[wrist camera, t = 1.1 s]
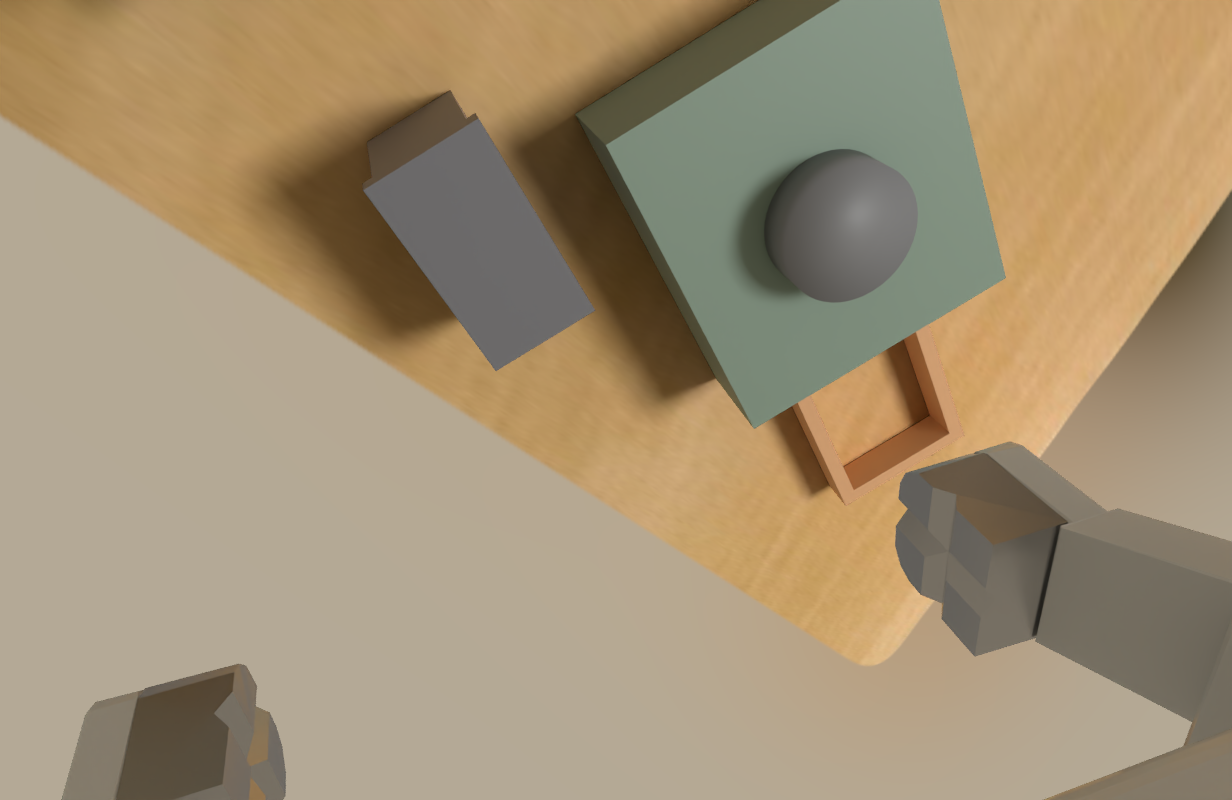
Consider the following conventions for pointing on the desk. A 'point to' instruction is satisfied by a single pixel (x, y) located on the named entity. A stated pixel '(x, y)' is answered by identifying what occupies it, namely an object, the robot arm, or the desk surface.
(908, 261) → the green panel with knob
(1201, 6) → the desk surface
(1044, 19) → the desk surface
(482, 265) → the grey stepped block
